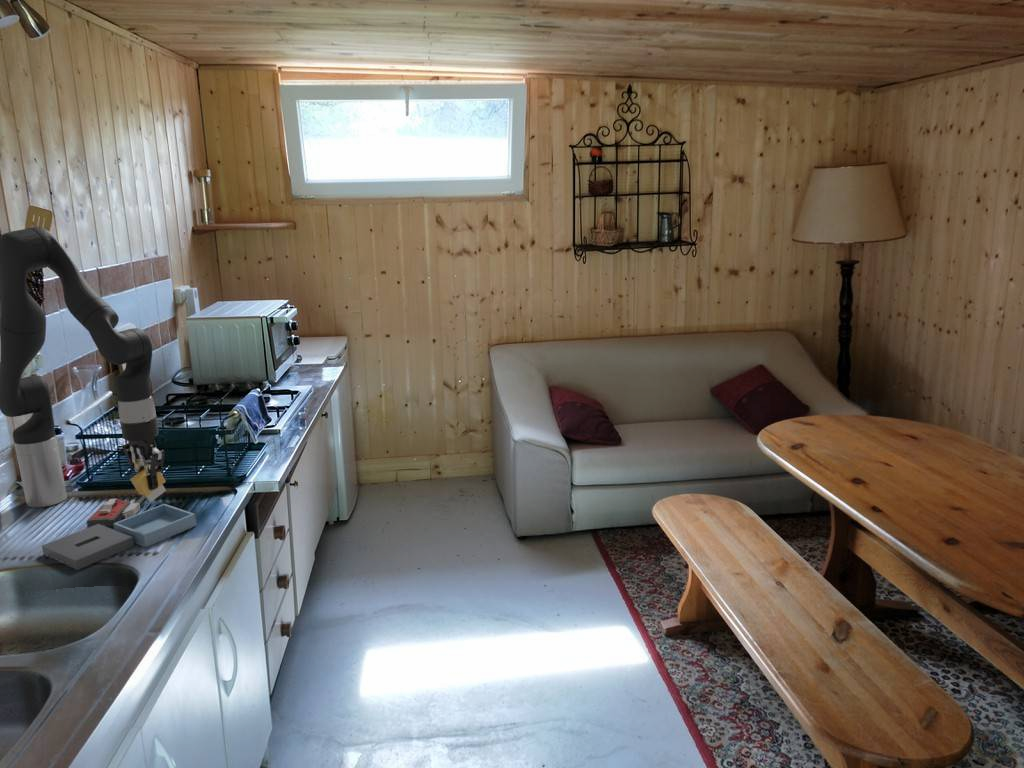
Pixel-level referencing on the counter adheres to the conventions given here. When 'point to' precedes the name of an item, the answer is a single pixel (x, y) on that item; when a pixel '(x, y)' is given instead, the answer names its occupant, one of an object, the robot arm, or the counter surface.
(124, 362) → the robot arm
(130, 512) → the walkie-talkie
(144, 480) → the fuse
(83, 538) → the grey slotted base
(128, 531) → the tray
